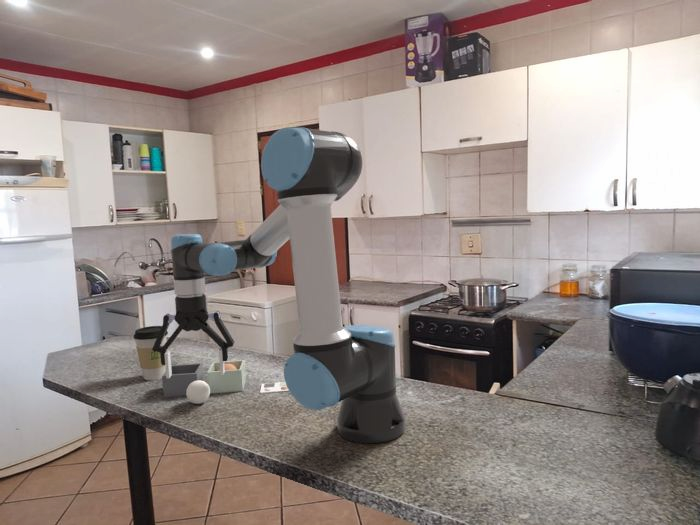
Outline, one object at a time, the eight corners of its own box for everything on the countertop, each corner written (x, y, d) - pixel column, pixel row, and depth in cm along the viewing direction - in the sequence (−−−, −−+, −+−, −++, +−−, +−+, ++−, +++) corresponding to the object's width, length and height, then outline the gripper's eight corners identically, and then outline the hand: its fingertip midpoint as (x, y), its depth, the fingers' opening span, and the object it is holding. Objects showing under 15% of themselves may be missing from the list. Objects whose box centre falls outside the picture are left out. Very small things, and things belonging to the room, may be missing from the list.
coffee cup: (172, 379, 153) (168, 330, 151) (137, 384, 149) (132, 334, 147) (170, 369, 162) (166, 323, 160) (137, 374, 158) (133, 327, 156)
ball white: (208, 406, 130) (207, 383, 129) (184, 408, 129) (183, 385, 128) (212, 397, 136) (211, 376, 135) (189, 399, 135) (188, 378, 134)
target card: (293, 390, 138) (293, 389, 138) (260, 393, 137) (259, 392, 137) (293, 381, 145) (293, 380, 145) (261, 384, 144) (261, 383, 144)
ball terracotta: (237, 387, 141) (236, 366, 140) (215, 389, 140) (214, 367, 140) (239, 380, 147) (238, 360, 146) (218, 381, 146) (217, 361, 146)
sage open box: (242, 391, 140) (241, 369, 139) (208, 393, 139) (207, 372, 138) (246, 379, 149) (244, 360, 148) (214, 382, 148) (212, 362, 147)
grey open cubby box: (198, 394, 139) (196, 373, 138) (163, 397, 138) (161, 376, 137) (204, 383, 148) (202, 363, 147) (172, 385, 147) (170, 365, 146)
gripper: (241, 289, 134) (246, 367, 137) (144, 294, 132) (150, 373, 134) (238, 294, 127) (243, 376, 129) (135, 300, 124) (142, 383, 127)
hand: (196, 375), depth 132 cm, fingers open, 13 cm apart
